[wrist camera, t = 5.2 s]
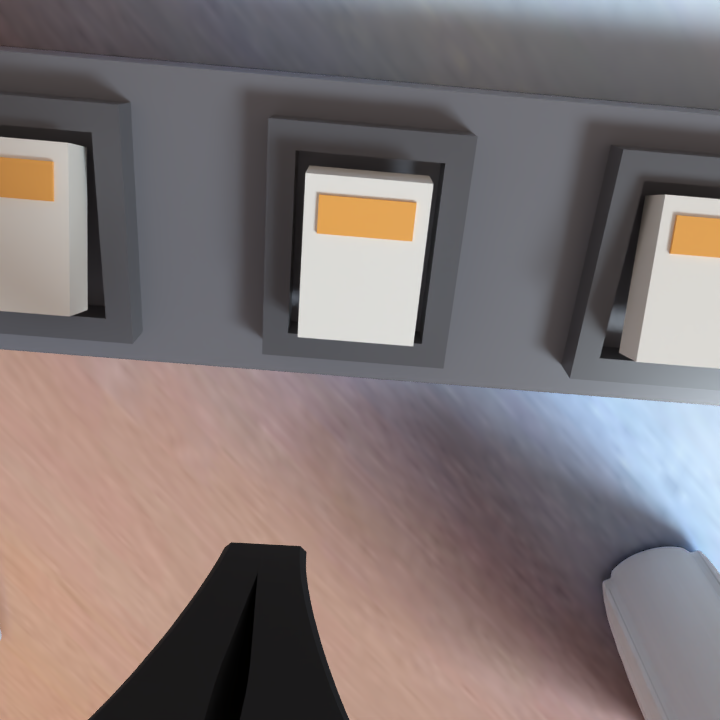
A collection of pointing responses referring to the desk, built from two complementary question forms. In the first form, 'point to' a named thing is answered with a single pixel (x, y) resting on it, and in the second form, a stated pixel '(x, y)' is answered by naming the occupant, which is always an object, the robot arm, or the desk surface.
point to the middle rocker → (362, 254)
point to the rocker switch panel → (362, 152)
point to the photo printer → (668, 631)
